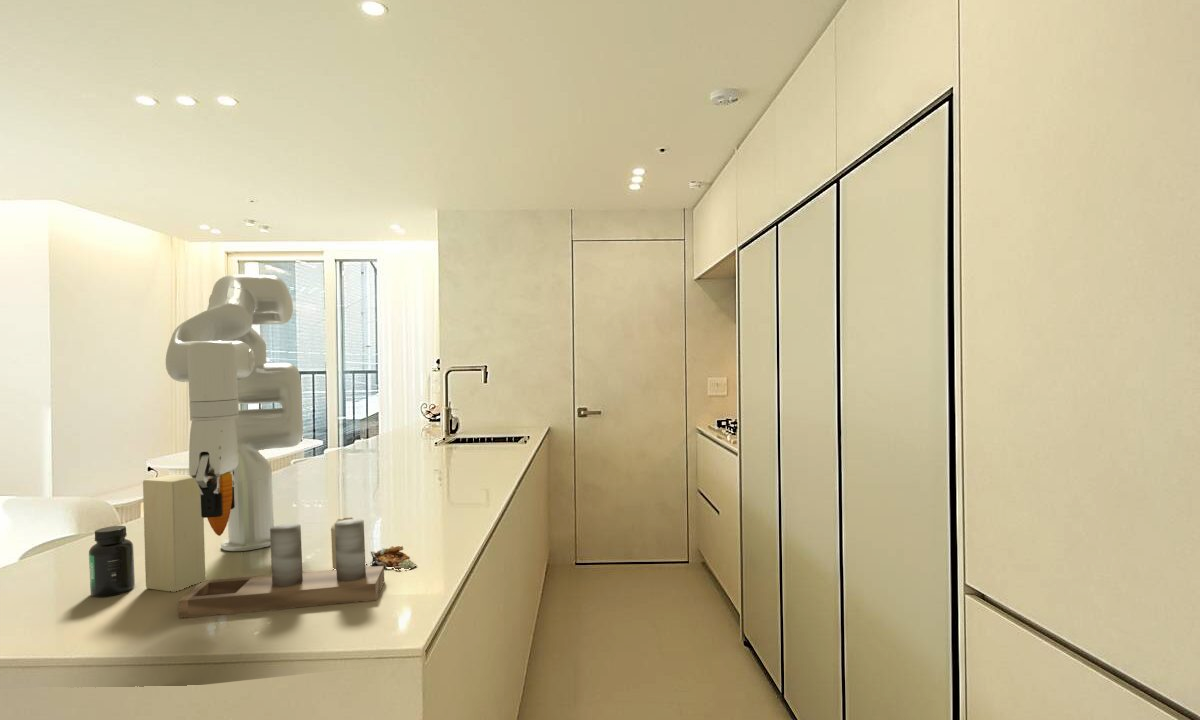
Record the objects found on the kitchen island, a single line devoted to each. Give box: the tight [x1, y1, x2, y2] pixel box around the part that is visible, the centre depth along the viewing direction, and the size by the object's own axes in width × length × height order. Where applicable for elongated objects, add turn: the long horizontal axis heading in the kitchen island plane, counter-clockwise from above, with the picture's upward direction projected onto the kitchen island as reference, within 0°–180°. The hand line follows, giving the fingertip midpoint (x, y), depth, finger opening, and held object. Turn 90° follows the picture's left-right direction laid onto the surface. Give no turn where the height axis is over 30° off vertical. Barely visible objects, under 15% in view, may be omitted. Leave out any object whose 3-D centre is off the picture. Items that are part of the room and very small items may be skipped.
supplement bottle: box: [88, 525, 136, 598], centre depth 126 cm, size 7×7×12 cm
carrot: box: [207, 472, 232, 537], centre depth 117 cm, size 5×5×15 cm
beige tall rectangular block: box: [142, 473, 206, 593], centre depth 129 cm, size 8×7×21 cm
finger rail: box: [177, 518, 385, 619], centre depth 119 cm, size 10×32×13 cm, turn 100°
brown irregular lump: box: [370, 545, 417, 570], centre depth 138 cm, size 7×12×4 cm, turn 60°
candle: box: [330, 517, 354, 569], centre depth 136 cm, size 6×6×10 cm
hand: (218, 511), depth 117 cm, fingers closed on carrot, 4 cm apart
